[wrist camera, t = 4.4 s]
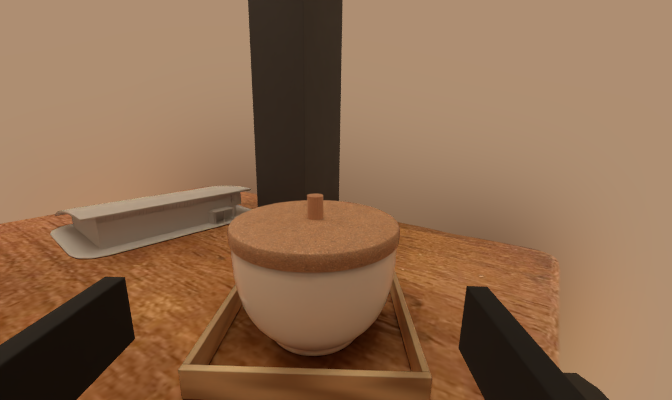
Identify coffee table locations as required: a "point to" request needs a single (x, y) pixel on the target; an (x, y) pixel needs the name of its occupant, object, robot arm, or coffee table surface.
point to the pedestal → (296, 97)
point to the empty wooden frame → (301, 369)
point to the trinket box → (313, 270)
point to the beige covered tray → (146, 220)
